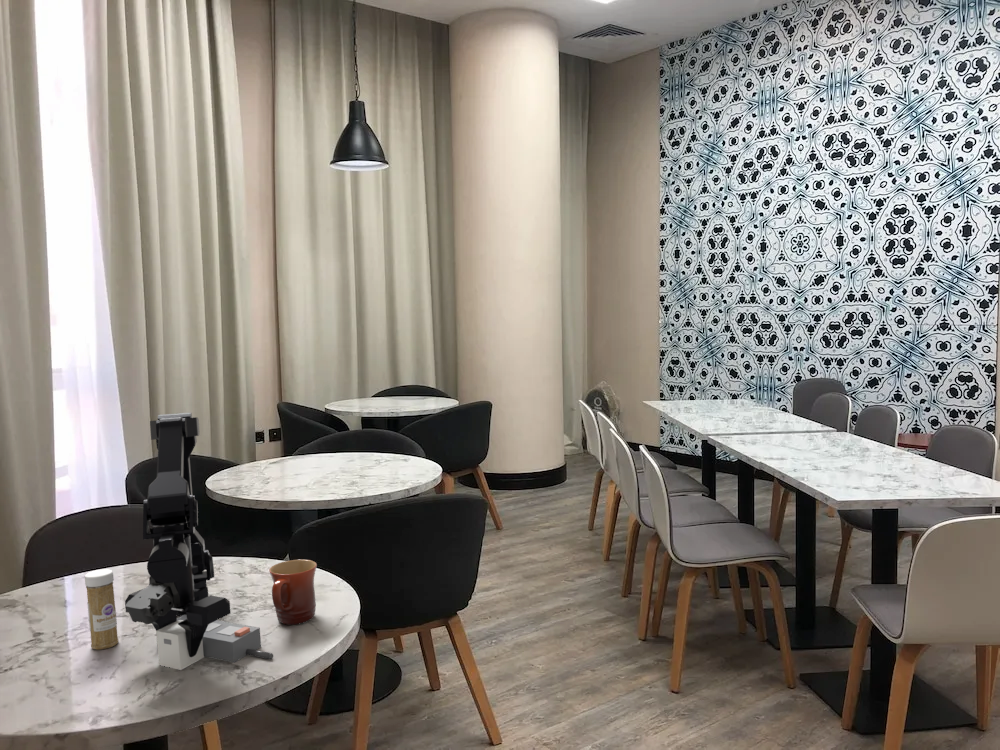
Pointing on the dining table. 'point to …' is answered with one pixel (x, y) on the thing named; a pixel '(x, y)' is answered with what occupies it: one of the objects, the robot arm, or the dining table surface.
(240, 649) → the power strip
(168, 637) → the block
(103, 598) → the sprinkles bottle
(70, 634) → the dining table surface
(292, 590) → the mug
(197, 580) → the robot arm
